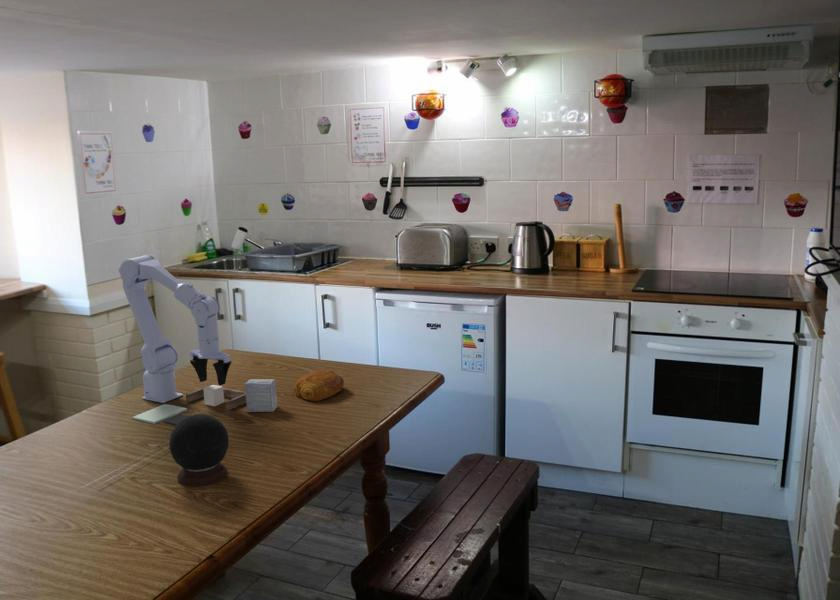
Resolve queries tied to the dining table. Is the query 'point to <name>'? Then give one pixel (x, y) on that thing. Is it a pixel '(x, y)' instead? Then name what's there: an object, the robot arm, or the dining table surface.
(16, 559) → the dining table surface
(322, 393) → the croissant
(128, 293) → the robot arm
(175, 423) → the trap tile
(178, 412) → the pad
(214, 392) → the cream block
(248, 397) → the medicine box
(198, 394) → the brown u-shaped bracket
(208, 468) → the black smart speaker
